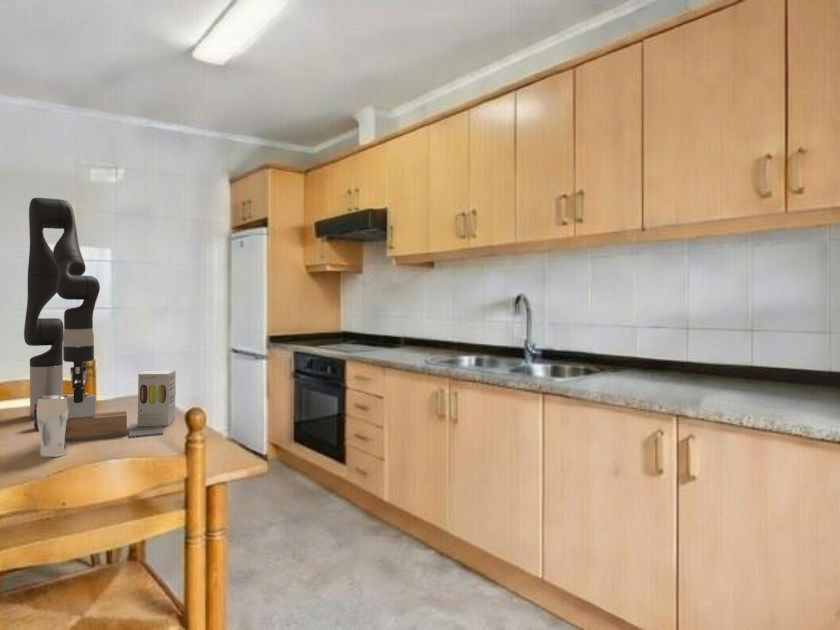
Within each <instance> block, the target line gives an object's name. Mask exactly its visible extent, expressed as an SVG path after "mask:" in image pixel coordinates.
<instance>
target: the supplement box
mask: <svg viewBox="0 0 840 630" xmlns="http://www.w3.org/2000/svg"><path fill="white" fill-rule="evenodd" d="M176 373H177V372H176V370H175V369H174V370H167V369H165V370H161V369H160V370H150V369H149V370H144V371H142V372H140V373H138V375H137V376H138V381H137V383H138V386H137V387H138V389H137V427H150V426H160V425H161V427H164V426H167V427H168V426H169V425H171V424H173V422H174V421H175V420H176V387H177V386H176Z"/></svg>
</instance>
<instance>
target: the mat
mask: <svg viewBox="0 0 840 630" xmlns="http://www.w3.org/2000/svg"><path fill="white" fill-rule="evenodd" d="M127 432H128V433H129V434H128V438H129V437H133V438H136V437H135V436H143V437H146V436H145V435H153V436H161V434H163V435H164V431H163V428H162V426H161V425H160V426H138V427H131V428H127Z"/></svg>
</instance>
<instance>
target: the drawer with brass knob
mask: <svg viewBox="0 0 840 630" xmlns="http://www.w3.org/2000/svg"><path fill="white" fill-rule="evenodd" d="M96 397H97V396H96V394H95V393H91V394H89V392H84V393H83V402H82V403H74V394H73V395H68V401H69V419H78V418H90V417H95V415H96V413H97V411H96V410H97V409H96V407H97V406H96V404H97V403H96V400H97V399H96Z"/></svg>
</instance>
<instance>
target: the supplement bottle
mask: <svg viewBox="0 0 840 630" xmlns="http://www.w3.org/2000/svg"><path fill="white" fill-rule="evenodd" d="M38 398H39V397H38ZM38 398H37V401H38ZM33 426H34V427H33V428H34V429H35V430H39V429H38V424H37V403H36V404H35V405H34V418H33Z"/></svg>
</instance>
